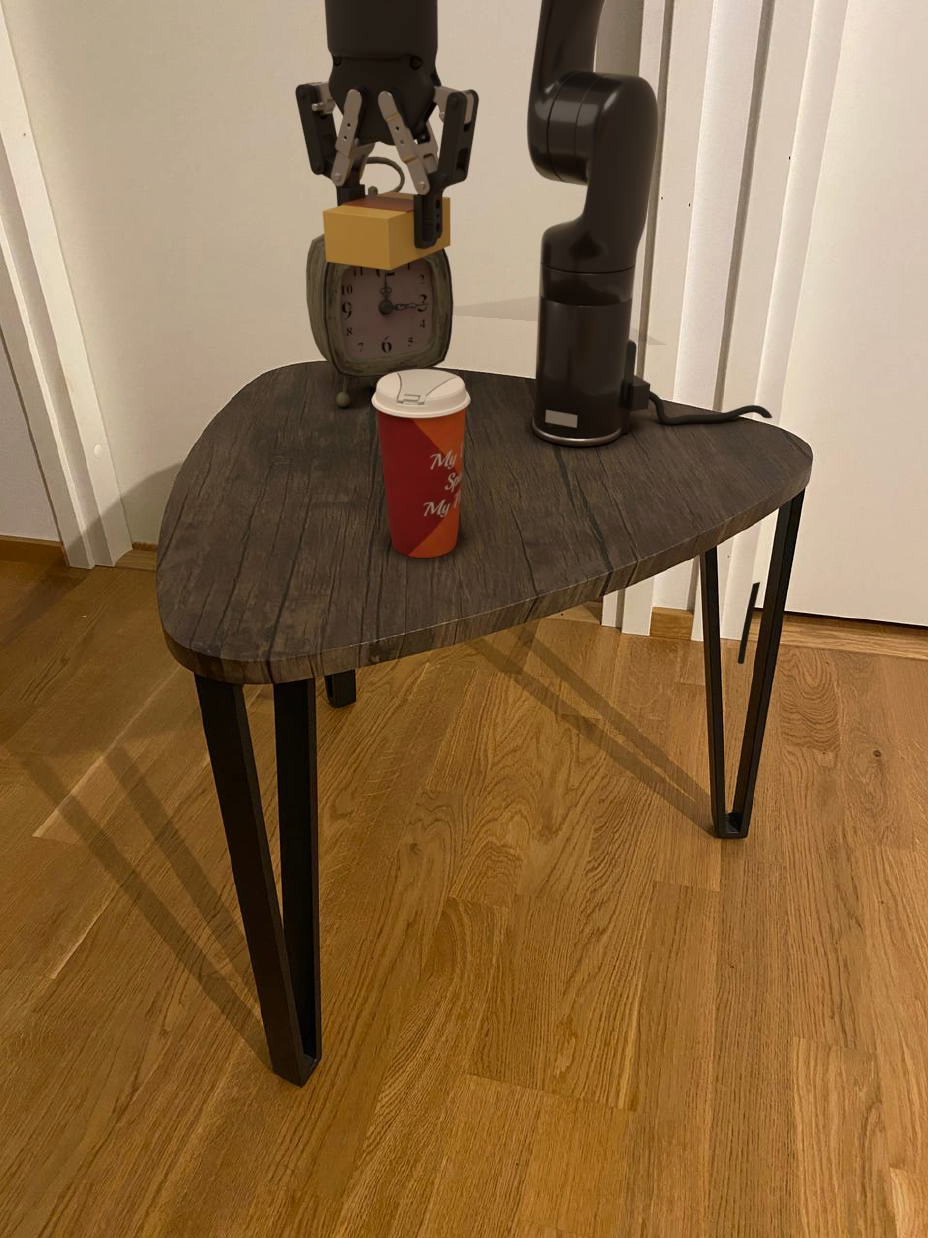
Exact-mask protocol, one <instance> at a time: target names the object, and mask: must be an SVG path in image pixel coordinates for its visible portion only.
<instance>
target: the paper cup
mask: <svg viewBox="0 0 928 1238" xmlns="http://www.w3.org/2000/svg"><path fill="white" fill-rule="evenodd" d="M371 403H372V405H373V407H374V408H375V409H376V417H377V426H378V435H379V444H380V453H381V462H382V463H381V464H382V471H383V482H384V490H385V499H386V508H387V516H388V525H389V526H388V527H389V533H390V538H391V544H392V547H393V548H394V551H396V552H398V553H399V554H401V555H404V556H406V557H411V558H416V559H417V558H418V559H429V558H436V557H441V556H444V555H446V554H448V553H450V552H451V551H453V550H454V549H455V548H456V546H457V543H458V537H459V536H458V535H459V526H460V525H459V523H460V513H461V509H460V508H461V497H462V495H461V494H462V479H463V463H464V462H463V461H464V448H465V447H464V446H465V445H464V444H465V429H466V411H467V407H468V405H469V404H470V403H471V396H470V394H469V392H468V391H467V389H466V384H465V382H464V380H463V379H462V378H461V377H460V376H458V375H456V374H455V373H451V372H449V371H444V370H439V369H431V368H429V369H413V370H405V371H399V372H397V373H396V372H394V373H391V374H388V375H386V376H384V377H382V378H381V379H380V380H379V382H378V383H377V387H376V388H375V392H374V394H373V395H372V397H371Z"/></svg>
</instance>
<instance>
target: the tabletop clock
mask: <svg viewBox="0 0 928 1238" xmlns="http://www.w3.org/2000/svg"><path fill="white" fill-rule="evenodd" d="M377 164H378V165H386V166H389V167H391V168H393V169H394V170H395V171H396V172H397V173H398V175H399V179H400V181H399V184H398V185H397V186H396V187H395V188H393V189H390V191H391V192H401V191H402V189H403V187H404V185H405V182H406V177H405V176H406V175H405V173H404V171H403V169H402V167H401V166H400V164H398V163H397V162H396V161H395V160H392V159H390V158H388V157H386V156H385V157H384V156H368V159H367V162H366V165H377ZM378 194H379V189H378V187H377V186H374V185H371V186H369V187H368V189H367V194H365V196H366V197H367V196H370V195H373V196H375V195H378ZM305 280H306V281H305V288H306V289H305V292H306V295H305V296H306V297H305V298H306V305H307V311H308V318H309V324H310V331H311V334H312V337H313V341H314V343H315V345H316V347H317V349H318V351H319V353H320V355H321V356H322V357H323V358H324V359H325V360H326V362H327V363H328V364H329V365H330V367H331V368H332V369H333V370H334V371H335V373H336V374H337V375H339V376H342V377H343V385H342V390H341V391H340V392H339V393H337V394H336V395H335V398H334V399H335V403H336V405H337V406H338V407H340V408H346V407H347V406H348V405H349V404H351V403H350V402H351V397H350V395H349V393H348V391H349V388H350V385H351V382H352V379H368V383H369V386H370V387H371V388H373V389H376V387H377V383H378V382H379V380H380V379H381V378H382V377H384V376H386V375H388V374H391V373H394V372H396V373H397V372H399V371H405V370H413V369H432V368H434V367H436V366H438V365H440V364H442V363H443V362H445V359H446V357H447V355H448V352H449V349H450V345H451V340H452V331H453V318H454V317H453V316H454V293H453V278H452V270H451V264H450V260H449V256H448V254H447V252H446V248H443V249H441V250H438V251H436V252H433V253H431V254H428V255H426V256H424V257H421V258H419V259H416V260H414V261H411V262H409V263H406V264H404V265H402V266H399V267H397V268H394V269H392V270H384V269H376V268H369V267H362V266H355V265H347V264H340V263H333V262H327V261H326V251H325V237H324V233H322V234H321V235H319V236H316V237H315V238H313V239H312V240H311V242H310V245H309V249H308V252H307V256H306V268H305Z"/></svg>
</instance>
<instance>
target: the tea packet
mask: <svg viewBox="0 0 928 1238" xmlns="http://www.w3.org/2000/svg"><path fill="white" fill-rule="evenodd" d="M415 194H416V193H411V192H410V193H409V192H401V191H399V192H391V190H388V191H386V192H382V193H378V195H375V196H373V195H370V196H367V197H364V198H361V199H358V200H354V201H351V202H347V203H343V204H342V205H341V206H338V207H337V206H335V207H332V208H328V209H325V210H322V220H323V222H322V223H323V234H324V237H325V251H326V261H327V262H333V263H340V264H347V265H355V266H362V267H369V268H376V269H384V270H392V269H394V268H397V267H399V266H402V265H404V264H406V263H409V262H411V261H414V260H416V259H419V258H421V257H424V256H426V255H428V254H431V253H433V252H436V251H438V250H441V249H443V248H444V249H446V248H448V247H450V246H451V197H448V196H442V206H443V216H442V217H443V222H442V223H443V232H442V235H441V238H439V239H437V242H436V244H435V246H432V247H430V248H427V249H420V248H416V247H415V244H414V209H413V195H415Z"/></svg>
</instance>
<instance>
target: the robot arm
mask: <svg viewBox="0 0 928 1238" xmlns="http://www.w3.org/2000/svg"><path fill="white" fill-rule="evenodd" d="M606 1H607V0H541V2H540V9H539V17H538V18H539V20H538V24H537V25H538V26H537V31H536V32H537V34H536V40H535V48H534V55H533V63H532V71H531V76H530V77H531V78H530V86H529V93H528V103H527V113H526V142H527V149H528V154H529V159H530V161H531V163H532V165H533V168H534V169H535V171H536V172H537V173H538V175H540V176H541V177H542V178H544V179H546V180H550V181H553V182H557V183H558V182H559V183H564V184H572V185H576V186H578V185H579V186H584V187H586V193H585V200H584V204H583V209H582V212H581V213H580V214H579V215H578V216H577V217H576V218H574V219H572V220H571V219H570V220H567V221H563V222H560V223H557V224H554V225H551V226H549V227H548V228H546V229H545V230H544V232H543V234H542V235H541V240H540V253H539V254H540V257H539V260H540V261H539V277H538V278H539V281H538V302H537V303H538V306H537V325H536V326H537V327H536V329H537V330H536V354H535V374H534V375H535V378H534V402H533V417H532V426H531V427H532V428H531V429H532V431H533V433H534V434H535V435H536V436H537V437H538V438H540V439H542V440H545V441H546V442H549V443H553V444H557V445H563V446H568V447H593V446H600V445H604V444H608V443H610V442H613V441H615V440H617V439H618V438H619V437H620V436H621V435H623V434H628V433H629V430H630V422H631V421H630V420H631V412H636V411H641V410H647V409H649V402H650V401H651V402H652V403H653V404H654V406H655V411H656V416H657V419H658V420H659V422H661V423H663V424H665V425H669V426H677V425H681V424H686V423H714V422H718V423H719V422H723V421H728V420H732V419H734V418H735V419H736V418H739V417H740V416H743V415H746V414H751V413H756V414H758V415H759V416H761V417H762V418H764V419H772V418H773V416H772V414H771V413H770V411H769V410H768V409H766V408H765V407H763V406H761V405H756V404H748V405H745V406H740V407H738V408H734V409H732V410H729V411H726V412H721V413H713V414H710V413H709V414H685V415H680V416H675V417H674V416H673V417H669V416H667V415H666V413H665V408H664V403H663V400H662V399H661V398H660V397H659V395H657V394H656V393H655V392H653V391H651V383H649V382H648V381H647V380H644V379H643V378H641V377H639V376H637V375H636V374H635V369H636V359H637V348H638V346H637V343H636V342H635V341H634V340H632V339H630V334H631V324H632V314H633V313H632V311H633V301H634V289H635V278H636V269H637V258H638V251H639V247H640V243H641V240H642V238H643V235H644V231H645V228H646V224H647V218H648V212H649V205H650V204H649V203H650V195H651V191H652V189H651V188H652V183H653V182H652V181H653V175H654V169H655V162H656V156H657V149H658V148H657V147H658V143H659V142H658V141H659V126H660V116H659V114H660V113H659V105H658V99H657V96H656V93H655V91H654V89H653V87H652V85H651V83H649V81H648V80H646V79H645V78H643V77H641V76H639V75H634V74H628V73H615V72H601V71H600V72H599V71H595V57H596V47H597V40H598V34H599V27H600V23H601V19H602V15H603V11H604V8H605V4H606ZM438 6H439V3H438V0H324V12H325V13H324V14H325V28H326V29H325V31H326V45H327V51H328V52H329V53H330V56H331V59H332V68H331V72H330V75H329V77H328V81H324V82H323V81H318V82H315V81H314V82H306V83H302V84H301V83H300V84H298V85H297V86H296V88H295V90H294V93H295V99H296V104H297V109H298V114H299V119H300V123H301V128H302V133H303V138H304V143H305V147H306V152H307V157H308V162H309V167H310V170H311V172H312V173H313V174H314V175H315V176H323V177H325V178H327V179H329V180H330V181H331V182H332V184H333V185H334V186H335V189H336V191H335V192H336V193H335V194H336V207H338V206H341V205H342V204H343V203H347V202H351V201H354V200H358V199H361V198H364V197H366V196H365V195H366V184H365V183H361V180H362V178H363V175H364V173H365V168H366V166H367V164H366V162H367V159H368V157H370V154H372V153H373V151H374V149H375V147H376V144H377V143H382V144H384V145H387V146H390V147H395V148H396V151H397V154H398V156H399V159H400V160H401V162H402V163H403V164H405V165H406V167H407V168H406V169H407V170H408V173H409V176H410V178H411V182H412V184H413V187H414V189H415V191H416V193H414V194H415V195H413V209H414V244H415V247H416V248H420V249H427V248H430V247H432V246H435V244H436V242H437V239H439V238H441V235H442V232H443V223H442V222H443V217H442V216H443V206H442V197H444V196H443V195H444V191H445V190H446V189H447V188H449V187H451V186H454V185H456V184H460V183H463V182H465V181H466V180H467V178H468V175H469V167H470V161H471V156H472V150H473V149H472V148H473V141H474V136H475V129H476V122H477V118H478V117H477V116H478V110H479V102H480V97H479V94H478V92H477V91H476V90H475V89H472V88H470V89H464V90H458V89H455V88H451V87H448V86H445V85H442V81H441V79H440V76H439V74H438V71H437V66H436V62H437V61H436V60H437V54H438V50H439V20H438V19H439V18H438V17H439V16H438V14H439V13H438V10H439V7H438ZM336 107H337V108H338V111H340V114H341V115H342V120H341V123H340V125H339V129H338V133H337V129H336V122H335V117H334V110H335V108H336ZM436 107H438V112H439V113H438V117H439V119H440V121H441V122H442V123H443V124H442V130H441V131H442V132H441V137H440V138H441V139H440V147H439V146H438V142H437V140H436V137H435V134H434V131H433V128H432V125H431V123H430V118H431V117H432V115H433V113H434V111H435V110H436ZM438 151H439V152H438ZM438 153H439V154H438ZM760 585H761V581H758V582H754V583H752V586H751V591H750V595H749V599H748V604H747V609H746V614H745V618H744V623H743V627H742V633H741V638H740V642H739V643H740V645H739V650H738V657H737V661H736V662H737V664H739V665H743V664H744V663H745V660H746V659H745V658H746V654H747V653H746V652H747V647H748V641H749V636H750V631H751V626H752V622H753V617H754V612H755V607H756V603H757V599H758V593H759V589H760V587H761V586H760Z"/></svg>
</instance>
